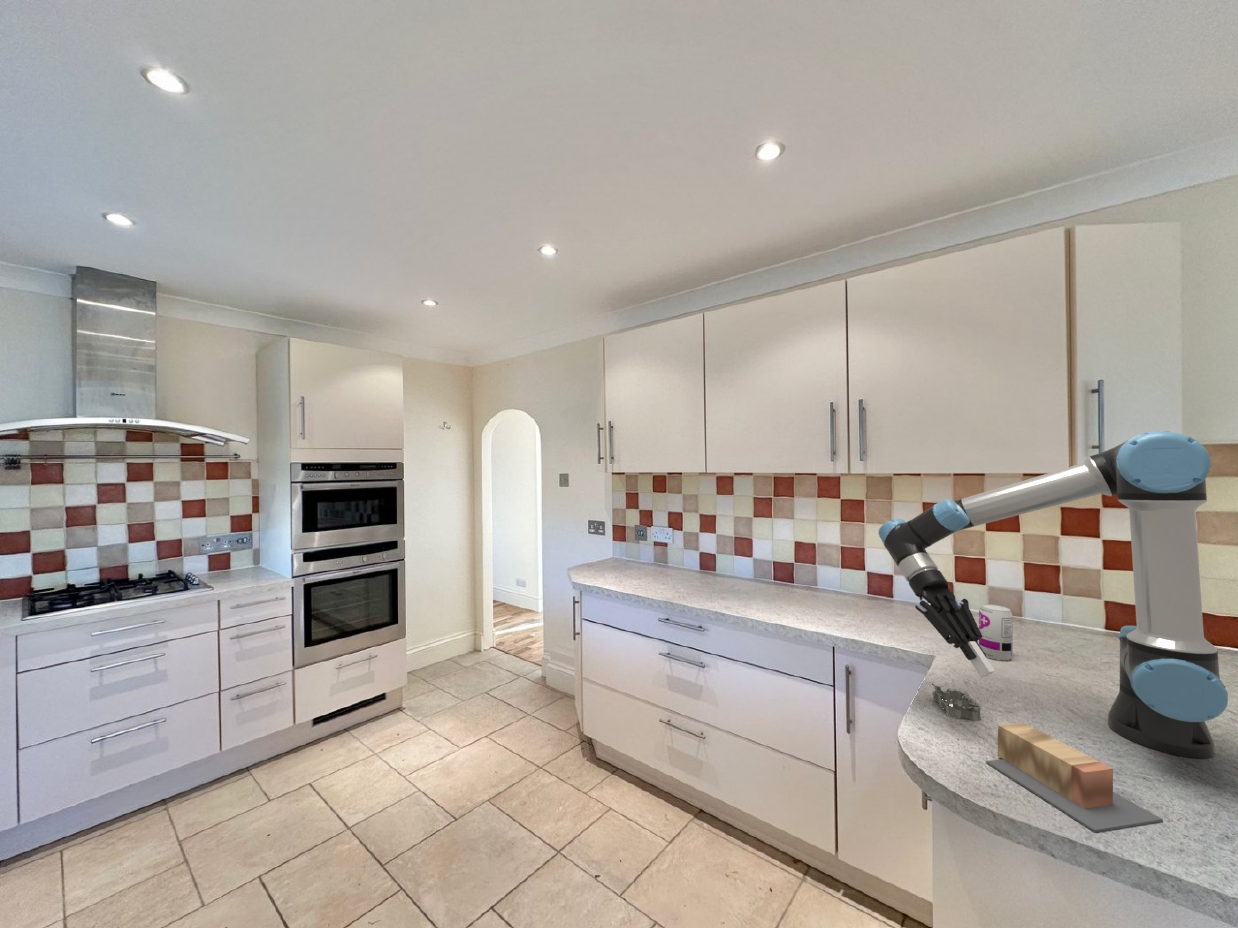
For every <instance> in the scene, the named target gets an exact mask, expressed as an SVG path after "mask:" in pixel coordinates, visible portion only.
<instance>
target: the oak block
mask: <svg viewBox="0 0 1238 928" xmlns="http://www.w3.org/2000/svg"><path fill="white" fill-rule="evenodd" d="M997 756H998V757H999V758H1001V759H1004V760H1006V761H1007V762H1009V763H1011V764H1012V765H1014V766H1016V767H1017V768H1019V769H1020V770H1022V771H1024V772H1025V773H1027V774H1029V775H1030V776H1032V777H1034V778H1035V779H1037V780H1039V781H1040V782H1042V783H1043V784H1045V785H1047V786H1048V787H1050V788H1052V789H1053V790H1055V791H1057V792H1058V793H1060V794H1061V795H1063V796H1065V797H1066V798H1068V799H1070V800H1071V801H1073V802H1075V803H1076V804H1078V805H1079V806H1081V807H1083V808H1084V809H1086V808H1092V807H1099V806H1106V805H1112V804H1113V792H1114V768H1112V767H1111V766H1109V765H1107V764H1105V763H1103V762H1101V761H1099V760H1096V759H1095V758H1093V757H1092V756H1089V755H1087V754H1086V753H1084V752H1081V751H1080V750H1077V749H1075V748H1074V747H1072V746H1070V745H1068V744H1066V743H1064V742H1062V741H1060V740H1058V739H1056V738H1054V737H1052V736H1051V735H1048V734H1046V733H1044V732H1043V731H1041V730H1039V729H1036V728H1034V727H1032V726H1031V725H1029V724H1027V723H1025V722H1015V723H1014V722H1013V723H1004V724H997Z"/></svg>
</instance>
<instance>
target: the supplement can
mask: <svg viewBox="0 0 1238 928" xmlns="http://www.w3.org/2000/svg"><path fill="white" fill-rule="evenodd" d="M978 615H979V616H978V628H979V630H980V632H981V634H982V638H981V639H979V640H978V644H979V645H980V647H981V648H982V650H983V652H984V653H985V654H986V658H987V657H988V658H987V659H990V658H994V659H999V660H998V661H1000V660H1008V661H1010V660H1011V659H1013V647H1014V645H1013V640H1014V638H1013V637H1014V636H1013V632H1014V631H1013V629H1014V624H1013V623H1014V616H1013V615H1014V614H1013V613H1012V611H1011V608H1009V607H1007V606H1002V605H998V604H990V603H989V604H988V603H987V604H985V603H984V604H981V606H980V608H979V609H978ZM994 659H993V660H994ZM1009 659H1010V660H1009Z"/></svg>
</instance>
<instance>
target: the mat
mask: <svg viewBox="0 0 1238 928" xmlns="http://www.w3.org/2000/svg"><path fill="white" fill-rule="evenodd" d="M985 763H986V764H987V765H988V766H990V767H991V768H993V769H994V770H996V771H998V772H999V773H1001V774H1002V775H1004V776H1005V777H1007V778H1009V779H1010V780H1011V781H1014V782H1015V783H1016V784H1018V785H1019V786H1021V787H1023V788H1024V789H1026V790H1027V791H1029V792H1030V793H1032V794H1034V795H1035V796H1037V797H1038V798H1039V799H1041V800H1042V801H1044V802H1046V803H1047V804H1049V805H1051V806H1052V807H1054V808H1055V809H1056V810H1058V811H1060V812H1061V813H1063V814H1064V815H1067V816H1068V817H1069V818H1070V819H1072V820H1074V821H1076V822H1077V823H1078V824H1080V825H1082V826H1084V827H1085V828H1086V829H1088V830H1090V831H1091V832H1092V833H1095V834H1096V833H1101V832H1106V831H1107V832H1108V831H1113V830H1118V829H1120V828H1121V829H1126V828H1125V827H1127V828H1130V827H1129V826H1133V827H1138V825H1139V826H1145V825H1150V824H1151V825H1152V824H1157V823H1163V822H1164V819H1163V818H1161V817H1159V816H1158V815H1156V814H1154V813H1152V812H1151V811H1149V810H1147V809H1146V808H1143V807H1142V806H1140V805H1138V804H1136V803H1134V802H1133V801H1130V800H1129V799H1127V798H1126V797H1124V796H1121V795H1120V794H1118V793H1116V792H1114V791H1113V804H1112V805H1106V806H1099V807H1092V808H1086V809H1084V808H1083V807H1081V806H1079V805H1078V804H1076V803H1075V802H1073V801H1071V800H1070V799H1068V798H1066V797H1065V796H1063V795H1061V794H1060V793H1058V792H1057V791H1055V790H1053V789H1052V788H1050V787H1048V786H1047V785H1045V784H1043V783H1042V782H1040V781H1039V780H1037V779H1035V778H1034V777H1032V776H1030V775H1029V774H1027V773H1025V772H1024V771H1022V770H1020V769H1019V768H1017V767H1016V766H1014V765H1012V764H1011V763H1009V762H1007V761H1006V760H1004V759H1002V758H1001V759H992V760H985Z"/></svg>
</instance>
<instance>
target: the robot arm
mask: <svg viewBox="0 0 1238 928" xmlns="http://www.w3.org/2000/svg"><path fill="white" fill-rule="evenodd" d="M1211 467H1212V460H1211V455H1210V454H1209V451H1208V450H1207V449H1206V447H1205V446H1204V445H1203V444H1202V443H1201V442H1199V441H1198V440H1196V439H1195V438H1193V437H1192V436H1191V437H1190V436H1188V435H1186V434H1183V433H1179V432H1174V431H1160V430H1159V431H1158V430H1156V431H1151V432H1150V431H1149V432H1144V433H1140V434H1138V435H1136V436H1133V437H1131V438H1129V439H1128V440H1126V441H1123V442H1122V443H1120V444H1118V445H1117V446H1115V447H1112V448H1110V449H1108V450H1105V451H1103V452H1100V453H1099V452H1098V453H1096V454H1093V455H1089V456H1087V457H1086V458H1085V460H1084V461H1083V462H1081V463H1079V464H1075V465H1072V466H1068V467H1064V468H1062V469H1058V470H1055V471H1052V472H1048V473H1045V474H1041V475H1038V476H1034V477H1032V478H1028V479H1025V480H1021V481H1019V482H1015V483H1012V484H1011V483H1010V484H1007V485H1005V486H1001V487H998V488H994V489H990V490H987V491H984V492H980V493H977V494H974V495H971V496H967V497H963V498H961V499H958V500H953V499H951V498H945V499H943V500H941V501H939V502H937V503H935V504H934V505H932V506H930V507H929V508H927V509H926V510H925V511H923V512H921V513H920V514H919V515H917V516H915V517H914V518H912V519H910V520H908V521H906V520H904V519H903V518H893V519H892V520H888V521H886V522H884V523H883V524H882V525H881V526H880V527H879V529H878V536H879V538H880V539H881V541H882V545H883V546H884V548H885V549H886V551H887V552H888V553H889V555H890V557H891V559H892V560H893V562H895V564H896V566H897V568H898V569H899V571H900V572H901V574H902V575H903V577H904V579H905V580H906V582H908V585H909V587H910V588H911V590H912V593H914V595H915V596H916V597H918V598H919V600H920V602H918V603H917V604H916V605H915V606H914V608H915V609H916V610H917V611H918V612H919V613H920V614H922V615H924V618H926V619H927V620H928V621H929V623H930V624H931V625H932V627H933V628H934V629H935V630H936V631H937V632H938V633H939V634H940V636H941V637H942V638H943V639H944V640H945V642H946V643H947V644H949V645H952V644H954V645H953V648H955V649H958V648H959V649H960V650H961V652H962V653H963V655H964V656H965V658H966V660H967V661H969V662H970V663H971V664H972V667H974V669H975V671H976V673H977V674H978V675H979V677H980V678H986V677H988V676H990V675H992V674H993V673H995V672H996V670H995V669H994V667H993V665H992V664H991V662H990V661H989V659H988V658H987V657H986V654H985V653H984V652H983V650H982V648H981V647H980V645H979V639H981V638H982V634H981V632H980V630H979V625H978V624H977V622H976V619H975V617H974V615H973V614H972V611H971V609H970V605H969V604H970V603H969V600H968V599H966V598H963V599H960V598H957V597H956V596H955V594H954V593H953V592H952V591H951V590H950V589H949V583H948V580H947V579H946V577H945V576H944V575H943V573H942V572H941V571H940V570H939V568H938V566H937V564H936V563H935V561H934V560H933V558H932V557H931V556H930V554H929V553H928V552H927V550H926V549H927V548H928V547H931V546H932V545H935V544H936V543H938V542H939V541H941V540H944V539H946V538H948V537H949V536H951V535H953V534H954V533H956V532H959V531H962V530H968V529H970V528H973V527H977V526H982V525H984V524H989V523H993V522H997V521H1000V520H1005V519H1008V518H1013V517H1016V516H1019V515H1024V514H1027V513H1031V512H1037V511H1039V510H1043V509H1047V508H1048V509H1049V508H1052V507H1054V506H1055V507H1056V506H1059V505H1063V504H1067V503H1070V502H1071V503H1072V502H1075V501H1078V500H1081V499H1082V500H1083V499H1085V498H1090V497H1094V496H1097V495H1105V496H1107V497H1113V496H1117V501H1118V502H1119V503H1121V504H1122V505H1124V506H1125V507H1126V508H1128V509H1127V510H1129V511H1128V513H1129V526H1130V527H1129V528H1130V529H1129V530H1130V542H1131V545H1130V546H1131V557H1132V558H1131V559H1132V573H1133V587H1134V588H1133V589H1134V603H1135V605H1134V606H1135V621H1136V625H1123V626H1122V627H1120V631H1119V636H1118V640H1119V692H1118V694H1117V696H1116V698H1115V700H1114V702H1113V703H1112V705H1111V707H1110V710H1109V712H1108V714H1107V725H1108V726H1109V728H1110V729H1111V730H1113V731H1114V733H1117V734H1118V735H1120V736H1122V737H1123V738H1126V739H1128V740H1129V741H1131V742H1134V743H1136V744H1138V745H1139V744H1140V745H1142V746H1144V747H1148V748H1150V749H1153V750H1156V751H1160V752H1162V753H1163V752H1164V753H1166V754H1167V753H1168V754H1170V755H1171V754H1172V755H1175V756H1181V757H1185V758H1186V757H1187V758H1194V759H1208V758H1212V757H1214V755H1215V742H1214V740H1213V736H1212V735H1211V732H1210V730H1209V728H1208V726H1207V723H1206V722H1208V721H1210V720H1214V719H1215V718H1218V717H1220V716H1221V715H1222V714H1223V713H1224V712H1225V710H1226V709H1227V706H1228V704H1229V703H1228V701H1229V694H1228V691H1227V689H1226V685H1225V684H1224V682H1223V681H1222V680H1221V679H1220V677H1221V676H1220V665H1219V664H1220V663H1219V651H1218V648H1217V646H1215V645H1213V644H1212V643H1211V642H1210V641H1208V640H1207V639H1206V638H1205V635H1204V634H1205V633H1204V619H1203V606H1202V592H1201V577H1200V563H1199V561H1200V560H1199V550H1198V535H1197V534H1198V533H1197V521H1196V519H1197V517H1196V510H1197V509H1198V508H1200V507H1201V506H1202V505H1204V504H1206V503H1207V502H1208V499H1207V497H1208V496H1207V481H1206V478H1207V477H1208V475H1209V474H1210V471H1211Z"/></svg>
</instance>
